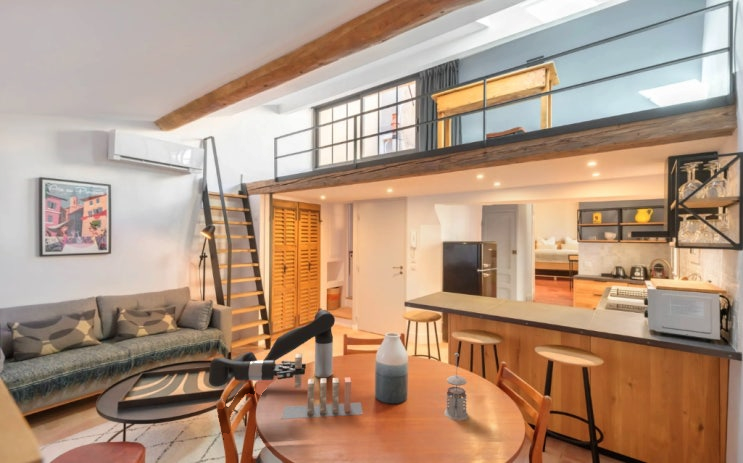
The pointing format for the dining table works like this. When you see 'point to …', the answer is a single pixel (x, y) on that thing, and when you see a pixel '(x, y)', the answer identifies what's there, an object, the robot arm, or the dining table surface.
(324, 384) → the domino
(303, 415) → the domino board
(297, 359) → the domino
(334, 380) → the domino
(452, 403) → the french press
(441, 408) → the dining table surface
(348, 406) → the end domino
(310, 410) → the domino
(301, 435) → the dining table surface
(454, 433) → the dining table surface
